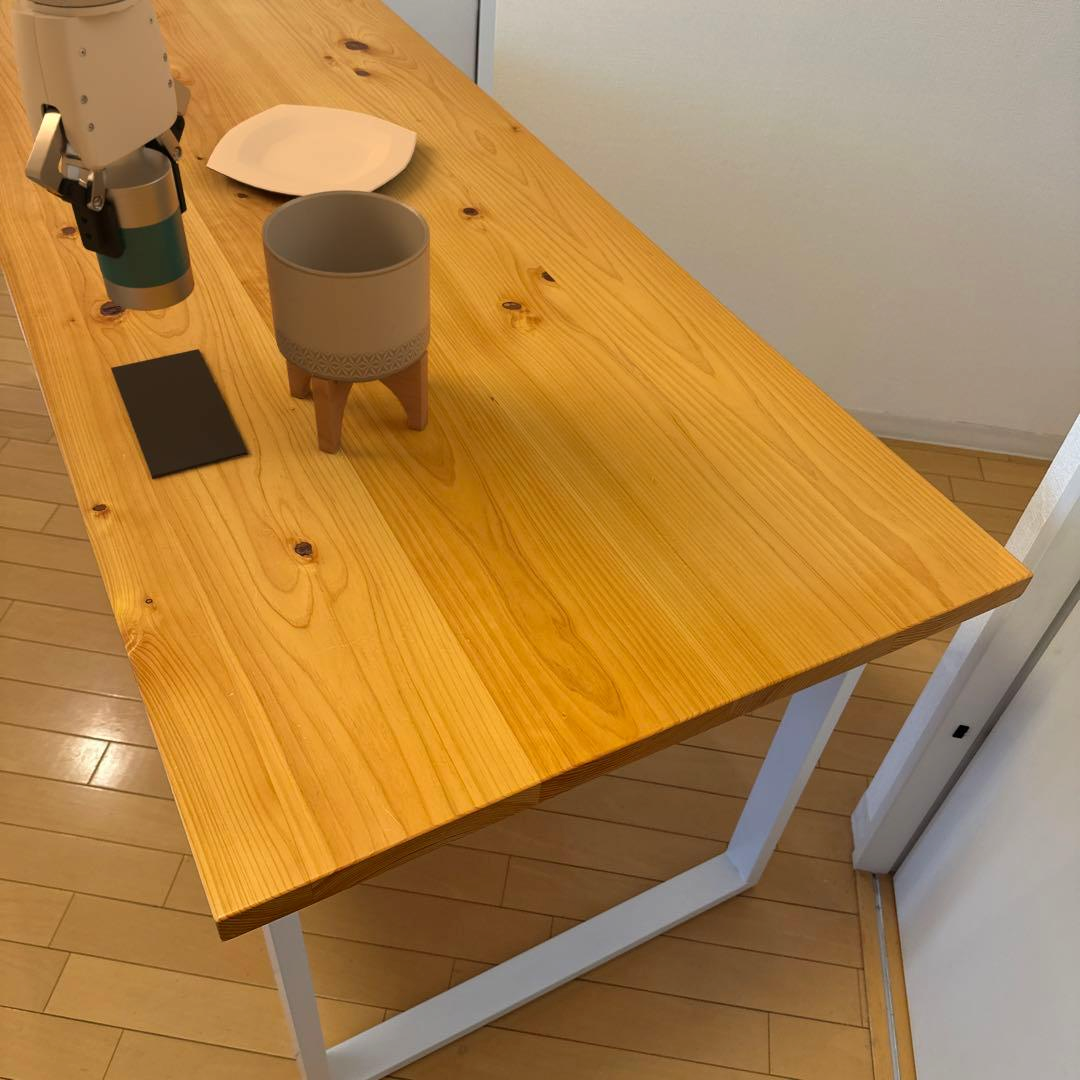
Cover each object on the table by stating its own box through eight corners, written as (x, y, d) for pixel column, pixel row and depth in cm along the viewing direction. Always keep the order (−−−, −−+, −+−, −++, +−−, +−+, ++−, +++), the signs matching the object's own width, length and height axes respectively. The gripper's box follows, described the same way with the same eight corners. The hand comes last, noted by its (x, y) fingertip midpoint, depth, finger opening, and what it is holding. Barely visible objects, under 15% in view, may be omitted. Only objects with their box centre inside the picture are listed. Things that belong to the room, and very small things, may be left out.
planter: (326, 352, 97) (309, 177, 84) (451, 386, 95) (454, 210, 82) (259, 432, 88) (229, 250, 75) (395, 471, 86) (389, 290, 73)
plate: (182, 185, 117) (179, 168, 116) (275, 109, 133) (273, 93, 131) (366, 227, 114) (365, 210, 112) (439, 143, 129) (439, 128, 128)
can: (88, 296, 78) (52, 173, 71) (143, 257, 83) (115, 137, 75) (159, 320, 77) (131, 197, 69) (212, 278, 81) (190, 159, 74)
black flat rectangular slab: (248, 454, 86) (247, 451, 86) (152, 479, 83) (151, 476, 83) (199, 351, 95) (198, 348, 95) (111, 370, 93) (110, 367, 92)
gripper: (118, -74, 70) (167, 171, 83) (-80, -2, 58) (13, 270, 71) (210, -53, 68) (246, 194, 81) (24, 26, 57) (101, 299, 70)
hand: (136, 228), depth 76 cm, fingers closed on can, 6 cm apart
